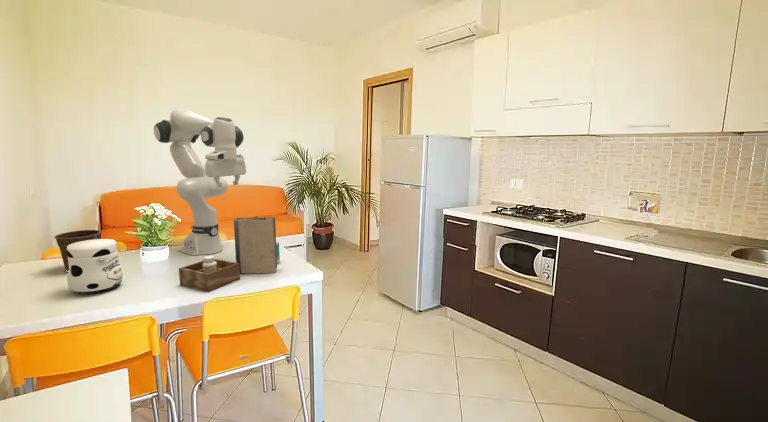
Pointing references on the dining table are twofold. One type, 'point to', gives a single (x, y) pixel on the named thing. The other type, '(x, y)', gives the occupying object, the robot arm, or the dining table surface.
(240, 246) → the book
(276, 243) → the pill bottle
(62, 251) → the plant pot
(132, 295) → the dining table surface
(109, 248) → the milk container
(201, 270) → the walled box
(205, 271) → the supplement bottle
